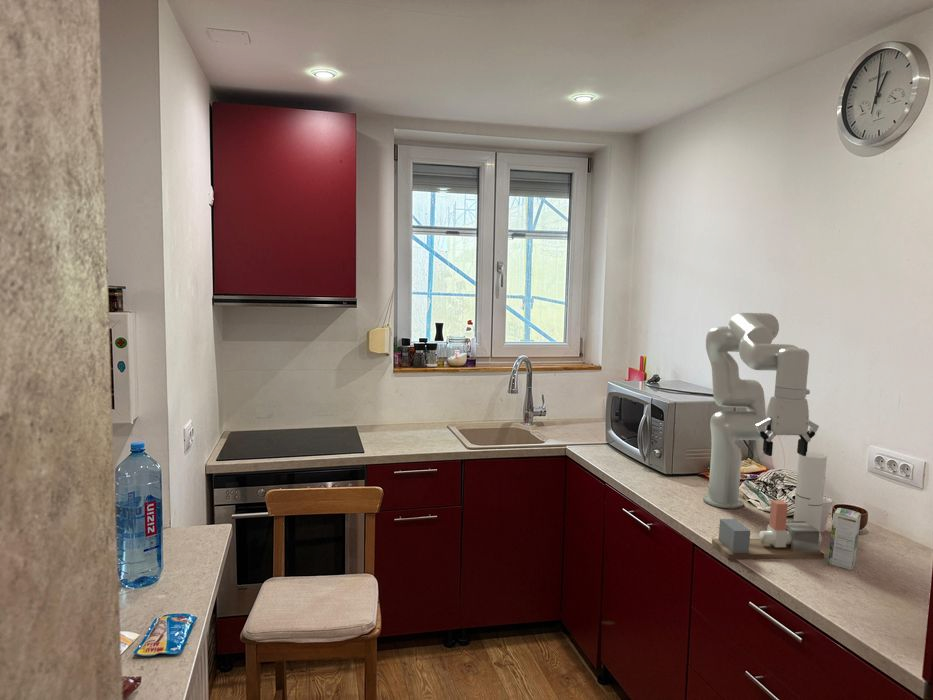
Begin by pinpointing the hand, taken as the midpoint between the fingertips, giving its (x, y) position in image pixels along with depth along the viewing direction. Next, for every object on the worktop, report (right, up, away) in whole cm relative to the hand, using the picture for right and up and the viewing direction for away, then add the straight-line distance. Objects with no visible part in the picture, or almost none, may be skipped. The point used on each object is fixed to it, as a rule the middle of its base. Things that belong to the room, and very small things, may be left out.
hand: (784, 454), depth 172 cm
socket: (-13, -26, +3) cm, 29 cm away
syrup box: (+14, -29, -3) cm, 32 cm away
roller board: (-3, -28, +3) cm, 28 cm away
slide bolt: (+3, -26, +4) cm, 26 cm away
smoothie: (+20, -26, +20) cm, 39 cm away
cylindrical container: (+14, -27, +14) cm, 34 cm away
